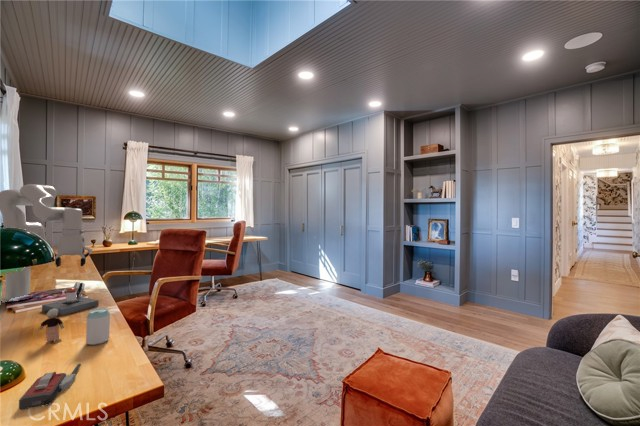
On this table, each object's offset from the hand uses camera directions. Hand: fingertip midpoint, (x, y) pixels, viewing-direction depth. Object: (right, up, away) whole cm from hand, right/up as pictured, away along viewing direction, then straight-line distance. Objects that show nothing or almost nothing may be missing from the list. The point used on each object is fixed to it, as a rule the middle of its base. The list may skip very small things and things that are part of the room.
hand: (70, 266), depth 148 cm
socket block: (+1, -21, -1) cm, 21 cm away
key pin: (+1, -21, -1) cm, 21 cm away
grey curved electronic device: (-10, -21, +15) cm, 28 cm away
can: (+42, -23, -37) cm, 60 cm away
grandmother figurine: (+25, -22, -38) cm, 51 cm away
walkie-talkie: (+51, -23, -65) cm, 86 cm away
